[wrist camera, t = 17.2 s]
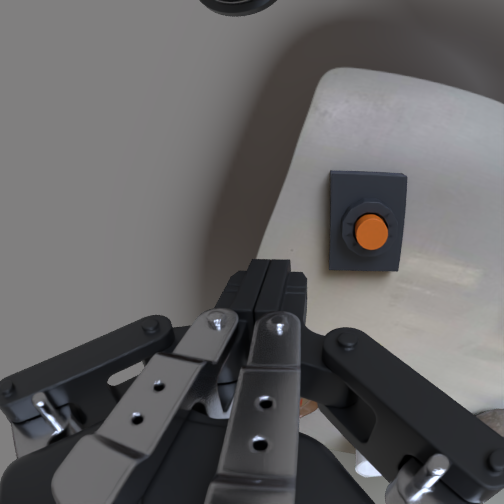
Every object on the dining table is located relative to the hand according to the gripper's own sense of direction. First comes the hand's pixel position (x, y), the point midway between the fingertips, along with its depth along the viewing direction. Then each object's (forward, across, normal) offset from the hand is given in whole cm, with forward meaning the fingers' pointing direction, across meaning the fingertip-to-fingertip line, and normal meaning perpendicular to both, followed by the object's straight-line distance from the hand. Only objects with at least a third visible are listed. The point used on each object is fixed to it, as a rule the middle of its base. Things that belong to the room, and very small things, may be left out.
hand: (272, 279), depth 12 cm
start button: (+22, -8, +6) cm, 24 cm away
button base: (+26, -8, +6) cm, 28 cm away
